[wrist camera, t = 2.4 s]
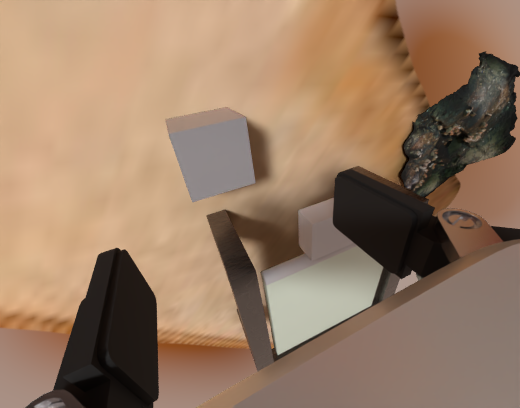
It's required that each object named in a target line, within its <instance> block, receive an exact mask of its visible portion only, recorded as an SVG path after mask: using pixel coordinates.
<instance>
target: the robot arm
mask: <svg viewBox="0 0 520 408" xmlns="http://www.w3.org/2000/svg"><path fill="white" fill-rule="evenodd" d="M433 211H434V207H432V206H430V205H428V204H426V203H424V202H421V201H419V200H417V199H415V198H413V197H411V196H409V195H406V194H404V193H402V192H400V191H398V190H396V189H393V188H391V187H389V186H387V185H385V184H383V183H380V182H378V181H376V180H374V179H372V178H370V177H367V176H365V175H363V174H361V173H359V172H357V171H354V170H352V169H348V170H345V171H342V172H340V173H338V175H337V177H336V178H335V190H334V206H333V225H334V227H335V228H336V229H338V230H339V231H340V232H341V233H342V234H344V235H345V236H346V237H347V238H348V239H350V240H351V241H352V242H353V243H355V244H356V245H357V246H358V247H359V248H361V249H362V250H363V251H364V252H366V253H367V254H368V255H369V256H370V257H372V258H373V259H374V260H375V261H376V262H378V263H379V264H380V265H381V266H383V267H384V268H385V269H386V270H387V271H389V272H390V273H392V274H395V275H397V276H398V277H399V278H400V279H402V278H404V277H406V276H408V275H410V274H411V271H412V270H413V271H414V272H416V275H417V278H418V281H417V282H416V283H414V284H412V285H410V286H408V287H407V288H405V289H403V290H401V291H400V292H397V293H396V294H394V295H392V296H390V297H388V298H387V299H385V300H383V301H381V302H380V303H378V304H376V305H374V306H372V307H371V308H369V309H367V310H365V311H364V312H362V313H360V314H358V315H356V316H355V317H353V318H351V319H349V320H348V321H346V322H344V323H342V324H341V325H339V326H337V327H335V328H333V329H332V330H330V331H328V332H326V333H325V334H323V335H321V336H319V337H318V338H316V339H314V340H312V341H310V342H309V343H307V344H305V345H303V346H302V347H300V348H298V349H296V350H295V351H293V352H291V353H289V354H288V355H286V356H284V357H282V358H281V359H279V360H277V361H275V362H274V363H272V364H270V365H268V366H267V367H265V368H263V369H261V370H260V371H258V372H256V373H255V374H253V375H251V376H249V377H247V378H246V379H244V380H242V381H240V382H239V383H237V384H235V385H233V386H232V387H230V388H228V389H227V390H225V391H223V392H222V393H220V394H218V395H216V396H215V397H213V398H211V399H210V400H208V401H206V402H205V403H203V404H201V405H200V406H198V407H196V408H520V229H513V228H504V227H494V226H490V225H489V224H488V223H487V221H486V220H484V219H483V218H482V217H480V216H479V215H477V214H475V213H472V212H470V211H466V210H462V209H455V208H447V209H443V210H441V211H439V212H438V214H437V216H436V217H434V216H432V214H433ZM158 388H159V386H158V343H157V303H156V298H155V295H154V293H153V291H152V290H151V288H150V287H149V285H148V284H147V282H146V280H145V279H144V277H143V276H142V274H141V272H140V271H139V269H138V268H137V266H136V265H135V263H134V261H133V260H132V258H131V257H130V255H129V254H128V252H127V251H126V250H120V249H119V248H115V249H112V250H109V251H106V252H103V253H100V254H99V255H98V258H97V261H96V264H95V268H94V271H93V274H92V278H91V281H90V285H89V288H88V291H87V295H86V298H85V299H84V300H83V301H82V302H81V304H80V306H79V309H78V312H77V315H76V319H75V322H74V325H73V328H72V331H71V335H70V338H69V341H68V345H67V348H66V351H65V354H64V357H63V360H62V364H61V367H60V370H59V373H58V376H57V379H56V383H55V386H54V389H53V391H51V392H48V393H46V394H43V395H42V396H40V397H39V398H37V399H36V400H34V401H32V402H31V403H30V404H29V405H28V406H26V407H25V408H153V402H154V401H156V400H157V399H158V395H159V394H158V393H159V389H158Z"/></svg>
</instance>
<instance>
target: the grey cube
mask: <svg viewBox="0 0 520 408" xmlns="http://www.w3.org/2000/svg"><path fill="white" fill-rule="evenodd" d="M165 121H166V125H167V130H168V134H169V137H170V140H171V143H172V146H173V148H174V151H175V154H176V157H177V160H178V163H179V166H180V168H181V171H182V174H183V177H184V180H185V183H186V186H187V188H188V191H189V194H190V197H191V200H192V202H195V201H198V200H202V199H205V198H208V197H212V196H215V195H218V194H221V193H225V192H228V191H231V190H235V189H238V188H241V187H244V186H248V185H251V184H254V183H255V176H254V169H253V162H252V156H251V149H250V142H249V135H248V128H247V122H246V117H245V116H243V115H241V114H239V113H237V112H235V111H233V110H231V109H229V108H228V107H224V108H219V109H214V110H209V111H204V112H199V113H194V114H189V115H184V116H179V117H174V118H169V119H165Z"/></svg>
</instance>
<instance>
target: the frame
mask: <svg viewBox="0 0 520 408" xmlns="http://www.w3.org/2000/svg"><path fill="white" fill-rule="evenodd" d="M352 170H354V171H357V172H359V173H361V174H363V175H365V176H367V177H370V178H372V179H374V180H376V181H378V182H380V183H383V184H385V185H387V186H389V187H391V188H393V189H396V190H398V191H400V192H402V193H404V194H406V195H409V196H411V197H413V198H415V199H417V200H419V201H421V202H424V203H426V204H428V201H429V199H426V198H424V197H422V196H420V195H418V194H416V193H414V192H412V191H410V190H408V189H405V188H403V187H401V186H399V185H397V184H395V183H393V182H391V181H389V180H387V179H385V178H382V177H380V176H378V175H376V174H374V173H372V172H370V171H368V170H366V169H364V168H361V167H359V166H358V167H355V168H352ZM207 219H208V222H209V225H210V228H211V231H212V234H213V237H214V240H215V243H216V245H217V248H218V251H219V254H220V257H221V260H222V262H223V265H224V268H225V271H226V274H227V277H228V280H229V283H230V286H231V289H232V292H233V295H234V299H235V302H236V305H237V308H238V309H237V312H238V315H239V318H240V321H241V324H242V327H243V330H244V333H245V336H246V339H247V342H248V345H249V348H250V350H251V353H252V356H253V359H254V362H255V365H256V368H257V370H258V371H260V370H261V369H263V368H265V367H267V366H268V365H270V364H272V363H274V362H275V361H277V360H279V359H281V358H282V357H284V356H286V355H288V354H289V353H291V352H293V351H295V350H296V349H298V348H300V347H302V346H303V345H305V344H307V343H309V342H310V341H312V340H314V339H316V338H318V337H319V336H321V335H323V334H325V333H326V332H328V331H330V330H332V329H333V328H335V327H337V326H339V325H341V324H342V323H344V322H346V321H348V320H349V319H351V318H353V317H355V316H356V315H358V314H360V313H362V312H364V311H365V310H367V309H369V308H371V307H372V306H374V305H376V304H378V303H380V302H381V301H383V300H385V299H387V298H388V297H390V296H392V295H394V293H395V290H396V288H397V285H398V282H399V279H400V278H399V277H398V276H397V275H395V274H392V273H390V272H389V271H387V270H386V269H385V268H384V267H383V270H382V273H381V276H380V279H379V283H378V286H377V289H376V292H375V295H374V299H373V302H372V305H371V306H370V307H368V308H366V309H364V310H362V311H360V312H358V313H356V314H355V315H353V316H351V317H349V318H347V319H345V320H343V321H341V322H339V323H338V324H336V325H334V326H332V327H330V328H328V329H326V330H324V331H323V332H321V333H319V334H317V335H315V336H313V337H311V338H309V339H307V340H306V341H304V342H302V343H300V344H298V345H296V346H294V347H292V348H291V349H289V350H287V351H285V352H283V353H281V354H279V355H277V352H276V350H275V348H273V349H271V344H270V339H269V334H268V329H267V324H266V319H265V314H264V309H263V304H262V299H261V294H260V289H259V284H258V279H257V274H256V270H255V268H254V266H253V264H252V262H251V260H250V258H249V256H248V254H247V252H246V250H245V248H244V246H243V244H242V242H241V240H240V238H239V236H238V234H237V232H236V230H235V228H234V226H233V224H232V222H231V220H230V218H229V216H228V214H227V212H226V211H225V210H222V211H219V212H216V213H213V214H210V215H207Z"/></svg>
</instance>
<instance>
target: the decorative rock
mask: <svg viewBox="0 0 520 408" xmlns="http://www.w3.org/2000/svg"><path fill="white" fill-rule="evenodd" d="M479 56H480V57H479V60H480V65H479V66H477V67H475V68H474V69H473V71H472V72H471V77H470V79H469V82H468V84H466V85H463V86H462V87H461V88H460V89H459V90H457V91H456V92H454V93H453V94H450V95H449V96H446V97H445V98H444V99H442V100H440V101H439V102H438V104H435V105H433V106H432V107H429V109H428V110H427V111H426V112H425V113H424V112H423V113H422V114H420V115H418V118H417V120H416V122H415V123H414V122H413V125H414V131H413V132H412V133H411V135H410V137H409V138H408V139H407V140H406V142H405V144H404V149H405V153H406V155H407V156H408V157H409V158H410V159H409V161H408V162H407V164H406V166H405V169H404V170H403V172H402V175H401V178H402V180H403V182H404V187H406V188H409V189H410V191H412V192H414V193H416V194H418V195H420V196H422V197H424V198H425V197H426V196H428V195H429V194H430V193H431V192H433V191H434V190H435V189H436V188H437V187H439V186H440V185H441V184H442V183H444V182H445V181H446V180H447V179H448V178H449V177H451V176H453V175H454V174H456V173H459V172H461V171H462V170H463V169H464V168H465V167H466V165H468V164H472V163H475V162H479V161H481V160H485V159H488V158H492V157H495V156H498V155H500V154H502V153H504V152H506V151H507V150H508V149H509V148H510V147H511V146H512V145H513V143H514V142H515V140H516V138H514V137H513V136H511V135H510V131H512V130H513V129H514V127H515V122H516V120H517V116H516V114H515V112H516V107H515V105H514V102H515V101H516V93H515V92H514V86H515V85H514V82H515V77H519V76H520V72H519V71H518V67H517V66H516V65H513V64H509V63H507V62H505V61H502V60H501V59H499V58H498V57H495V56H493V54H486V52H482V53H479Z"/></svg>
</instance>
